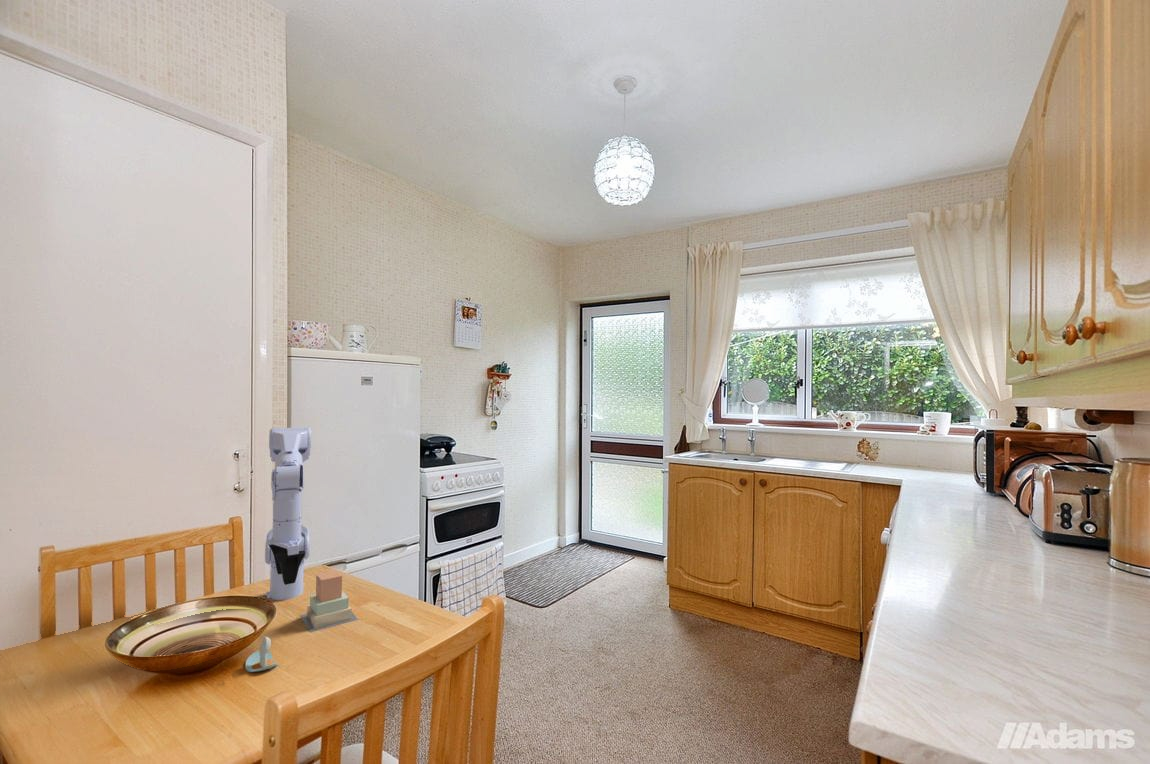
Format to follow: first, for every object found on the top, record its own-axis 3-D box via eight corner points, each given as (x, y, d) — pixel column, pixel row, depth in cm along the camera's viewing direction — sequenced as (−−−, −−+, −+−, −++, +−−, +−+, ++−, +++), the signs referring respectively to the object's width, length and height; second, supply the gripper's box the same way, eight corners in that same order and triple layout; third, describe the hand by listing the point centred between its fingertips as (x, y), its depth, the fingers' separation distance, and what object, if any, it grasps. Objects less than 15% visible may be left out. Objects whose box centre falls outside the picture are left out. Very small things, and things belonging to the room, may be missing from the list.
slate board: (299, 619, 119) (300, 615, 119) (345, 608, 125) (345, 604, 125) (310, 636, 111) (310, 632, 111) (358, 623, 117) (358, 619, 117)
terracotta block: (315, 596, 118) (316, 574, 118) (336, 591, 121) (336, 570, 121) (320, 602, 115) (321, 580, 115) (341, 597, 118) (342, 575, 118)
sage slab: (310, 605, 119) (310, 595, 119) (340, 598, 123) (340, 588, 123) (317, 616, 114) (317, 605, 114) (348, 608, 118) (348, 597, 118)
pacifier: (243, 687, 93) (280, 673, 97) (243, 653, 93) (280, 641, 97) (234, 671, 98) (269, 658, 103) (233, 638, 98) (269, 627, 102)
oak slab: (306, 615, 119) (307, 605, 119) (341, 607, 124) (341, 597, 124) (314, 628, 113) (315, 617, 113) (351, 618, 118) (351, 608, 118)
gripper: (261, 514, 120) (260, 572, 120) (272, 528, 109) (271, 592, 109) (295, 510, 124) (294, 566, 124) (309, 523, 113) (308, 584, 113)
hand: (286, 578), depth 117 cm, fingers open, 7 cm apart
